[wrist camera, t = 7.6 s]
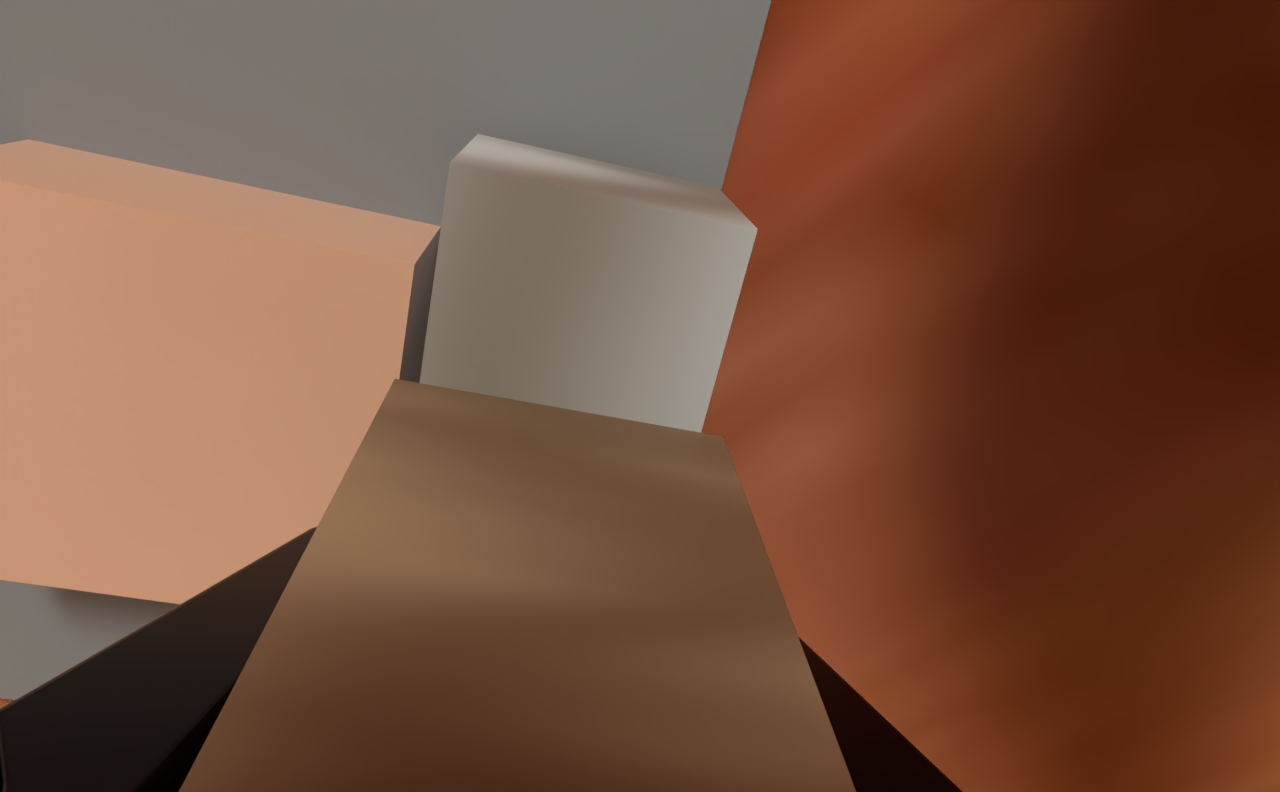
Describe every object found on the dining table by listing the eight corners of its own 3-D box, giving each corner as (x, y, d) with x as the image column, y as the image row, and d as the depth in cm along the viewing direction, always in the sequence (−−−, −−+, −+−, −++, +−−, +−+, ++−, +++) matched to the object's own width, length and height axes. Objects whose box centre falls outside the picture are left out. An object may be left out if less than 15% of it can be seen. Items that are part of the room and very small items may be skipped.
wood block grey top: (737, 191, 11) (1315, 742, 2) (606, 685, 14) (655, 1700, 5) (456, 129, 10) (-81, 555, 2) (383, 657, 13) (54, 1736, 5)
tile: (441, 226, 11) (414, 264, 9) (395, 544, 13) (365, 628, 11) (28, 138, 10) (-92, 161, 8) (42, 491, 12) (-52, 572, 10)
